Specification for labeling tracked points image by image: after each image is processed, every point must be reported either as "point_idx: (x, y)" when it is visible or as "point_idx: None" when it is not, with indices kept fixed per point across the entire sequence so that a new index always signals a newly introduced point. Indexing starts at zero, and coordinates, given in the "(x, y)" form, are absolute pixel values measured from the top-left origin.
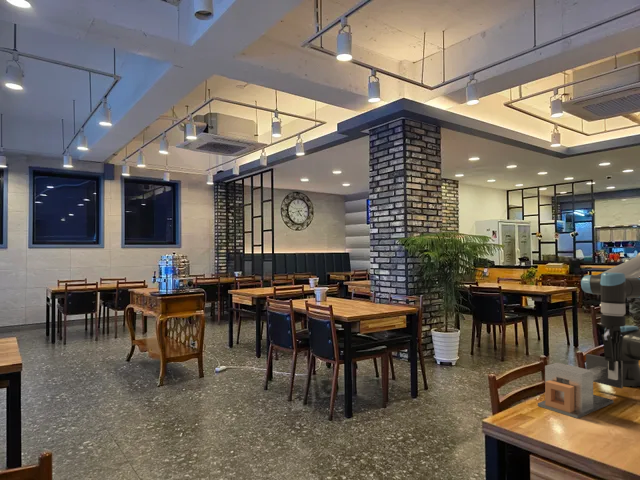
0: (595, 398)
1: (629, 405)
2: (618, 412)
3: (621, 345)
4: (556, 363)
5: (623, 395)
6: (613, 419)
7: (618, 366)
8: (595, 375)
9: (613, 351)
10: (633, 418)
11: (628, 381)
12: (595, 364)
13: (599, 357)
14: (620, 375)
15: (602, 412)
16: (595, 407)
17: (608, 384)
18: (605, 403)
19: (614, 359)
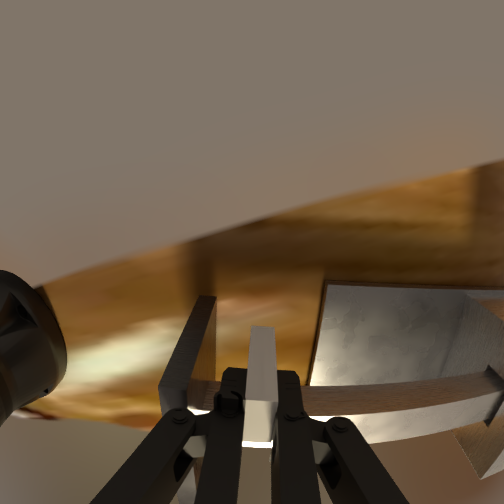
0: (363, 333)
1: (297, 227)
2: (421, 230)
3: (116, 497)
4: (494, 471)
5: (165, 286)
6: (490, 221)
7: (195, 376)
8: (361, 400)
9: (315, 485)
10: (444, 175)
11: (33, 311)
12: (203, 456)
13: (195, 479)
14: (205, 333)
15: (455, 266)
16: (464, 290)
17: (214, 351)
18: (397, 287)
19: (308, 423)
